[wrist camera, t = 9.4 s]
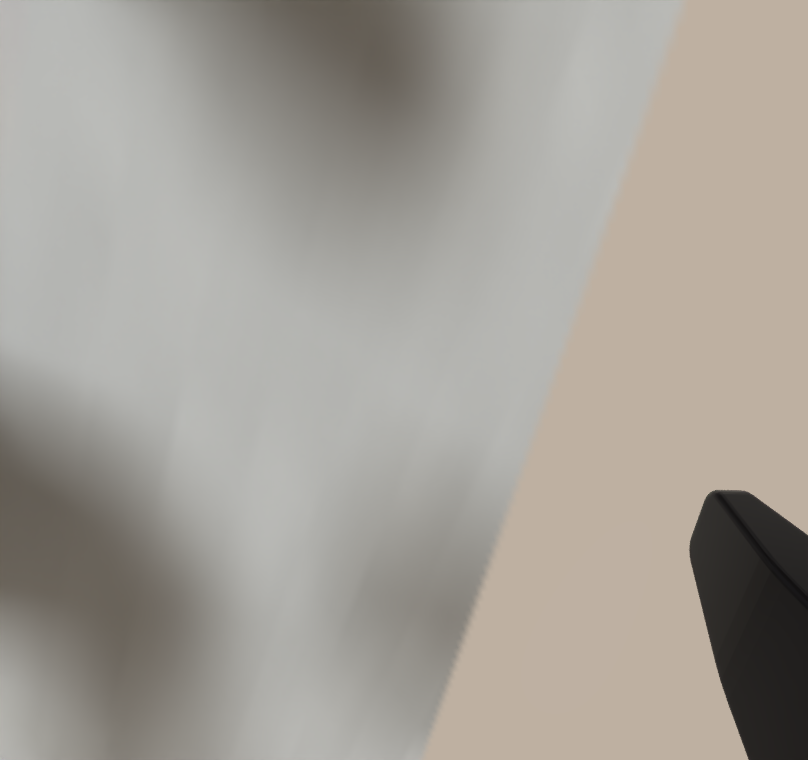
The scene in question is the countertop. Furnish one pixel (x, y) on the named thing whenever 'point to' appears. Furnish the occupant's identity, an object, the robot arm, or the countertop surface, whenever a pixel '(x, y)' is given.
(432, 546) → the countertop surface
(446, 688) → the countertop surface
